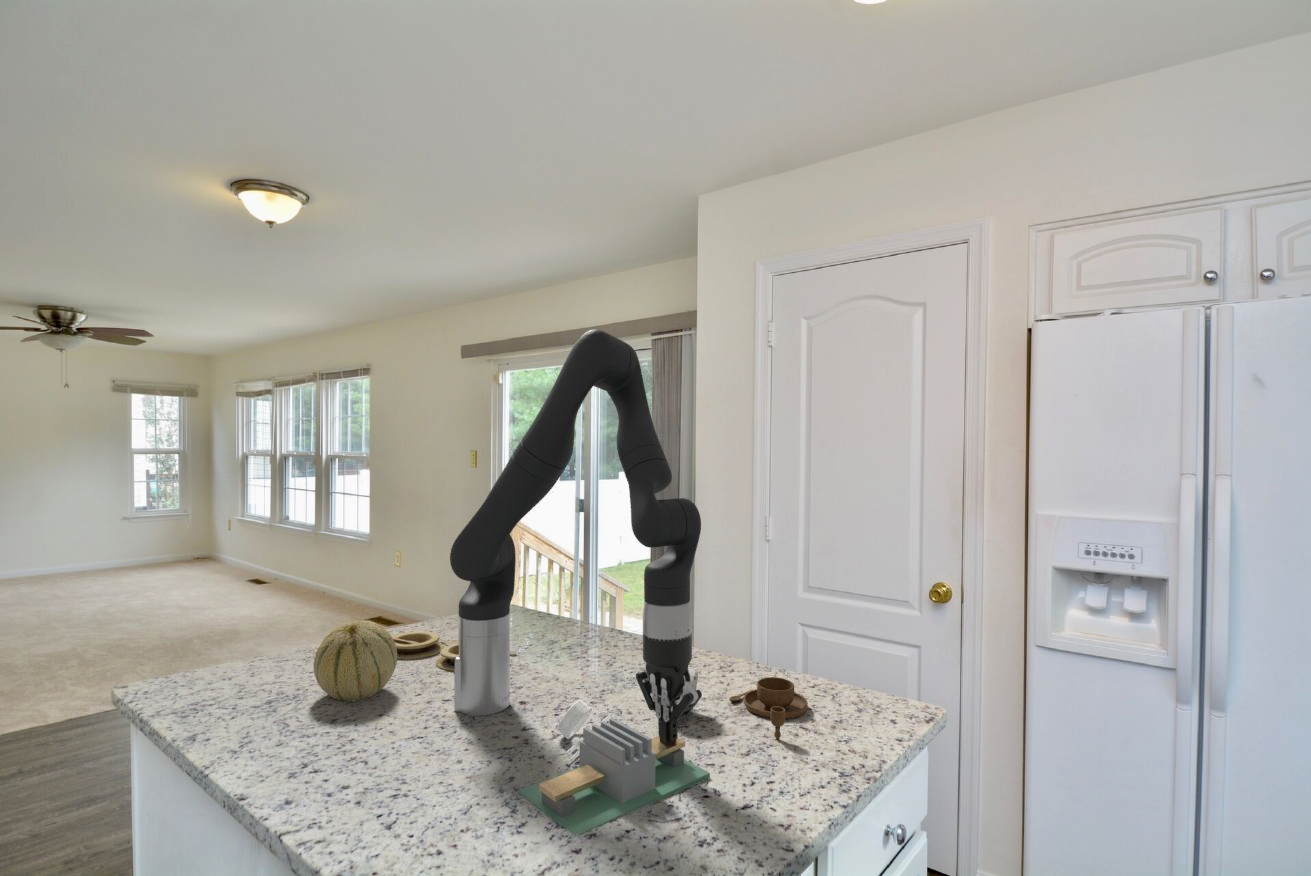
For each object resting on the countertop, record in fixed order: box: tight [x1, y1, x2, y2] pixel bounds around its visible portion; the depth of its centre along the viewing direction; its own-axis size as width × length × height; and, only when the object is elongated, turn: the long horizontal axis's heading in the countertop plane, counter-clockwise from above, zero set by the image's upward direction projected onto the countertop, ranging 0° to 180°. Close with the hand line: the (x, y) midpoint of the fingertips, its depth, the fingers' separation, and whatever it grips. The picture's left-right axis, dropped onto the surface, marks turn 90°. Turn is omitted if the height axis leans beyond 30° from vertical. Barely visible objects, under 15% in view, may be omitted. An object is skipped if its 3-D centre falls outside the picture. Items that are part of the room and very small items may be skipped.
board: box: [517, 717, 711, 837], centre depth 99 cm, size 24×14×8 cm, turn 131°
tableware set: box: [391, 630, 517, 673], centre depth 157 cm, size 30×20×6 cm, turn 64°
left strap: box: [539, 765, 605, 802], centre depth 94 cm, size 8×4×1 cm, turn 131°
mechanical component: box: [672, 668, 699, 711], centre depth 125 cm, size 10×4×10 cm, turn 168°
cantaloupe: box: [313, 620, 398, 702], centre depth 132 cm, size 15×15×15 cm
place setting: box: [729, 676, 816, 742], centre depth 127 cm, size 18×20×6 cm
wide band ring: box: [547, 699, 627, 766], centre depth 114 cm, size 18×10×6 cm
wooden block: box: [651, 735, 686, 760], centre depth 104 cm, size 8×4×1 cm, turn 131°
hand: (667, 741), depth 105 cm, fingers closed
